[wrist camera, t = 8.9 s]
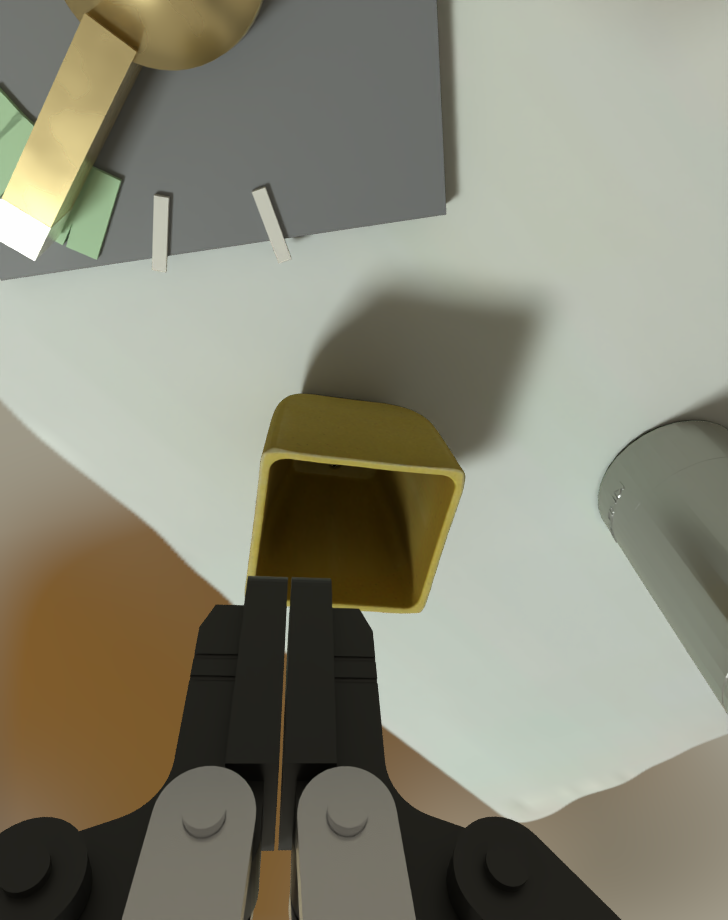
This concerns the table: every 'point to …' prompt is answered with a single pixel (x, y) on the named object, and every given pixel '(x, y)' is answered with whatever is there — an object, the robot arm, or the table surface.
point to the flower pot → (354, 501)
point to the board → (242, 133)
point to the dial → (105, 98)
